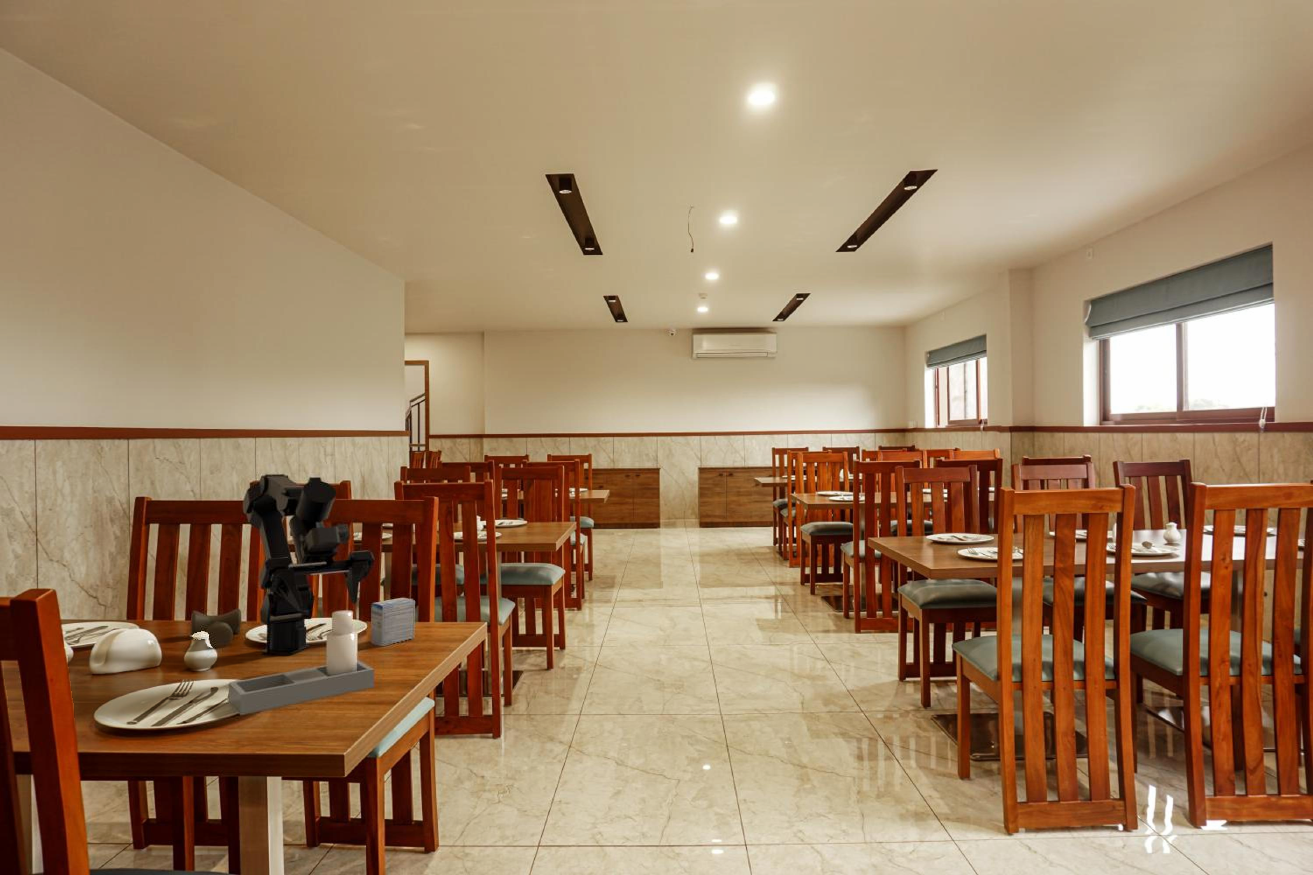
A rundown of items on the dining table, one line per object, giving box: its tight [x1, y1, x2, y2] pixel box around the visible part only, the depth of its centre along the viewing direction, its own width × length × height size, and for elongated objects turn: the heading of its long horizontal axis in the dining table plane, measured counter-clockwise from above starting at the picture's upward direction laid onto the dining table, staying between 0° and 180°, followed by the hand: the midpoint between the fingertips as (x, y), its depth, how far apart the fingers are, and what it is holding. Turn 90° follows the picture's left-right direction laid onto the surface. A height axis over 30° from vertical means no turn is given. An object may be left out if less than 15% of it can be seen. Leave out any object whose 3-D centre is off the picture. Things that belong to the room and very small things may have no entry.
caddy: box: [228, 659, 375, 716], centre depth 119 cm, size 8×20×4 cm, turn 132°
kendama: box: [190, 608, 242, 649], centre depth 158 cm, size 6×10×20 cm
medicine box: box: [370, 597, 416, 647], centre depth 156 cm, size 8×4×9 cm, turn 144°
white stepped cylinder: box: [325, 610, 358, 677], centre depth 123 cm, size 5×5×12 cm
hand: (328, 606), depth 129 cm, fingers open, 9 cm apart
